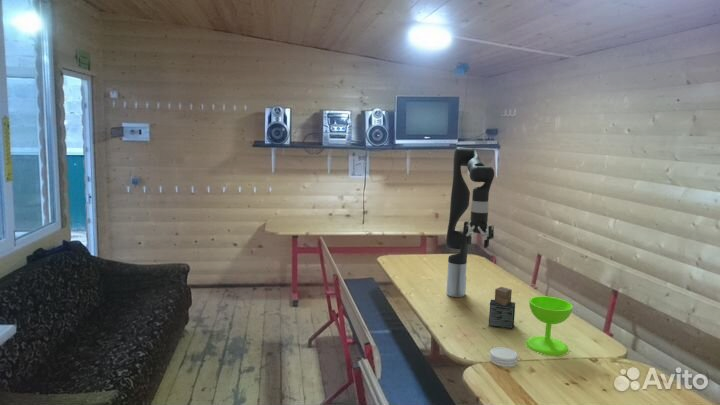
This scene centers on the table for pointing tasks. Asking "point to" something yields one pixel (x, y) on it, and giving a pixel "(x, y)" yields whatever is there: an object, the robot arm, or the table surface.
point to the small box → (502, 315)
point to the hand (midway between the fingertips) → (477, 245)
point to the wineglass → (549, 324)
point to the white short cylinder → (503, 357)
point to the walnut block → (503, 295)
